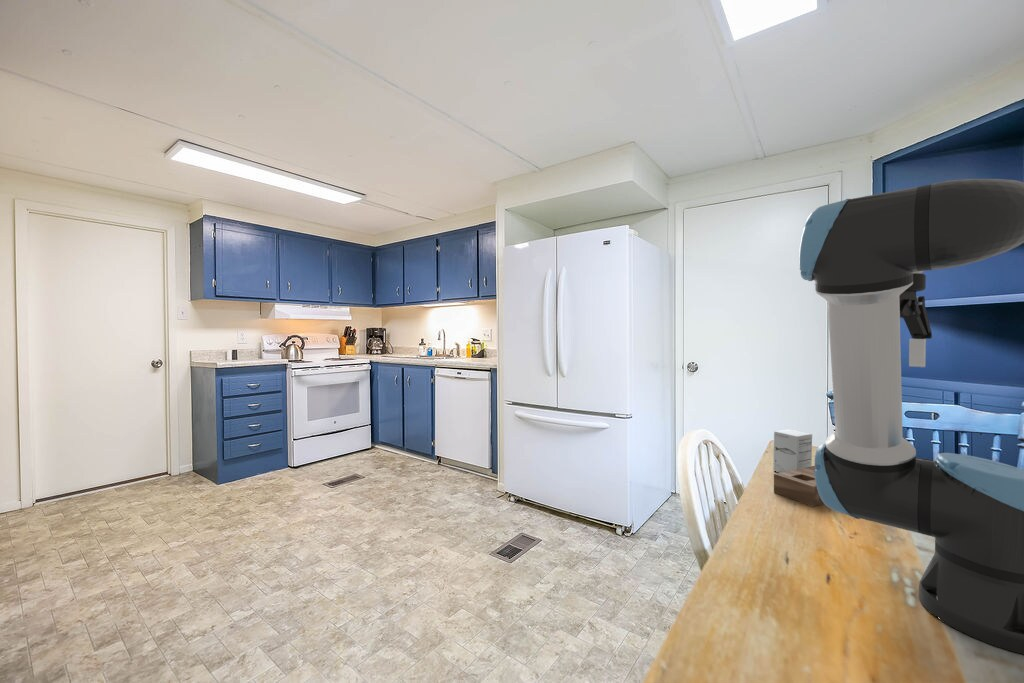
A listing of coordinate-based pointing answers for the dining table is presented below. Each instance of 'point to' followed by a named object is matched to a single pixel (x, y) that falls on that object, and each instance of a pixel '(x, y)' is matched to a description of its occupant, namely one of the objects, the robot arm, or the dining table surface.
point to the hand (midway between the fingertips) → (901, 367)
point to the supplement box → (792, 450)
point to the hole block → (798, 485)
